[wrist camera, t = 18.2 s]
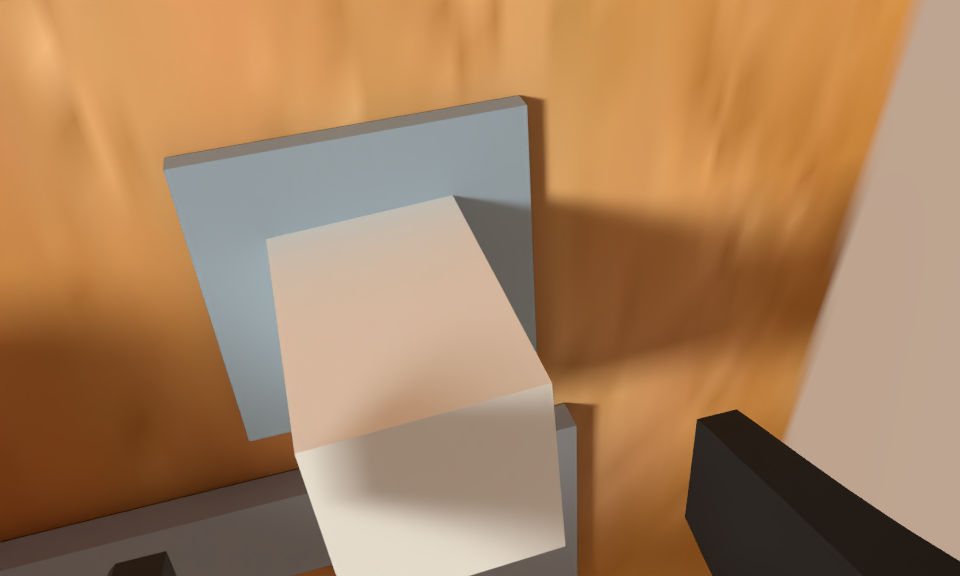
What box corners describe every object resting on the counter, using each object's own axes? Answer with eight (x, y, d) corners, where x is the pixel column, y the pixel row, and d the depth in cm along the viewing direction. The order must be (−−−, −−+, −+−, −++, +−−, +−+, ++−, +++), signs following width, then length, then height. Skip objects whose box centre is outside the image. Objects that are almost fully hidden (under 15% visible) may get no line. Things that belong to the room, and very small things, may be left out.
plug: (310, 382, 22) (348, 612, 16) (265, 239, 19) (293, 454, 14) (474, 339, 23) (565, 546, 17) (452, 195, 20) (552, 383, 14)
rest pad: (248, 426, 23) (249, 441, 22) (163, 158, 18) (163, 169, 18) (530, 360, 24) (537, 372, 24) (518, 95, 20) (526, 104, 19)
